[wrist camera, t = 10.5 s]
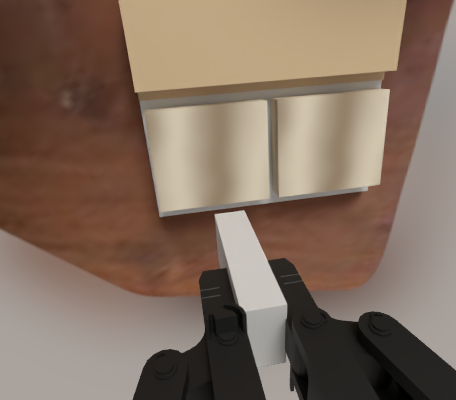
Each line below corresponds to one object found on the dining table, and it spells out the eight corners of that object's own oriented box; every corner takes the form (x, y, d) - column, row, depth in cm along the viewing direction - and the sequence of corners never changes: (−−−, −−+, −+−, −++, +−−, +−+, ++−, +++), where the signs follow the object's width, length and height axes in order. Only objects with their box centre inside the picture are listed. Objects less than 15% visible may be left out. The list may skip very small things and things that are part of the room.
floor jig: (160, 213, 30) (158, 226, 28) (123, -1, 23) (117, -7, 21) (363, 187, 32) (377, 198, 30) (387, -16, 25) (410, -22, 23)
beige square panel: (273, 190, 29) (278, 197, 28) (270, 98, 26) (277, 99, 25) (368, 178, 30) (379, 184, 29) (376, 88, 28) (389, 89, 26)
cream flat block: (161, 204, 28) (160, 212, 27) (146, 109, 25) (144, 112, 24) (264, 191, 29) (269, 198, 28) (261, 98, 26) (267, 100, 25)
